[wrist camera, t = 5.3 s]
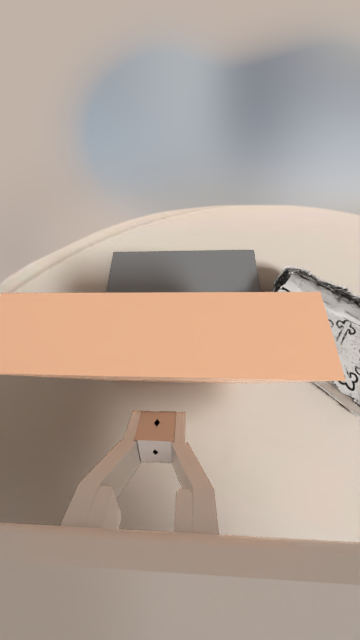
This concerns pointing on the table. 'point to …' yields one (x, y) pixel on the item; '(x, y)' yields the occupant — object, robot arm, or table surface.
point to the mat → (183, 272)
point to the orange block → (169, 337)
